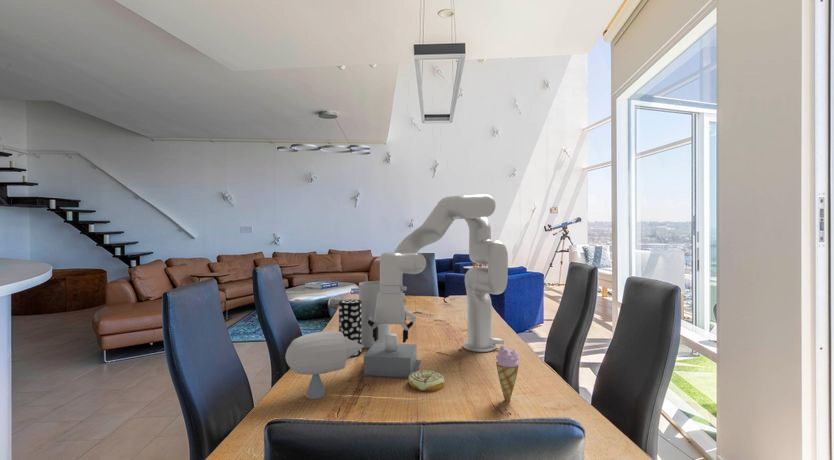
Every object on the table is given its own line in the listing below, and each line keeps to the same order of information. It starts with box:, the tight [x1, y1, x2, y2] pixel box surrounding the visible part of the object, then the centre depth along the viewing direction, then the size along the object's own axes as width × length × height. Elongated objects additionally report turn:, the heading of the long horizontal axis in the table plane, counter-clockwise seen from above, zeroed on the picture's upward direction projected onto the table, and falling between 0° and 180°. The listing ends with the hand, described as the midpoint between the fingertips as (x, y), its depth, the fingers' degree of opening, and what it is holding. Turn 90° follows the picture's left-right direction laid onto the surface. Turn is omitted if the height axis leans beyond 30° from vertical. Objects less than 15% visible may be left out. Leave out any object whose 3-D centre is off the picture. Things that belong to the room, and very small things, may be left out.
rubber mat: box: [357, 359, 422, 380], centre depth 133 cm, size 18×18×1 cm
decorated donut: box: [407, 369, 445, 392], centre depth 119 cm, size 10×11×4 cm
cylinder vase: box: [358, 280, 391, 349], centre depth 162 cm, size 12×12×25 cm
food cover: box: [363, 333, 417, 377], centre depth 133 cm, size 15×15×11 cm
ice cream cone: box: [495, 345, 520, 402], centre depth 109 cm, size 7×6×15 cm
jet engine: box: [285, 330, 364, 400], centre depth 113 cm, size 15×20×18 cm
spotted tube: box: [338, 298, 363, 359], centre depth 148 cm, size 8×8×20 cm
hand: (390, 340), depth 133 cm, fingers open, 9 cm apart
